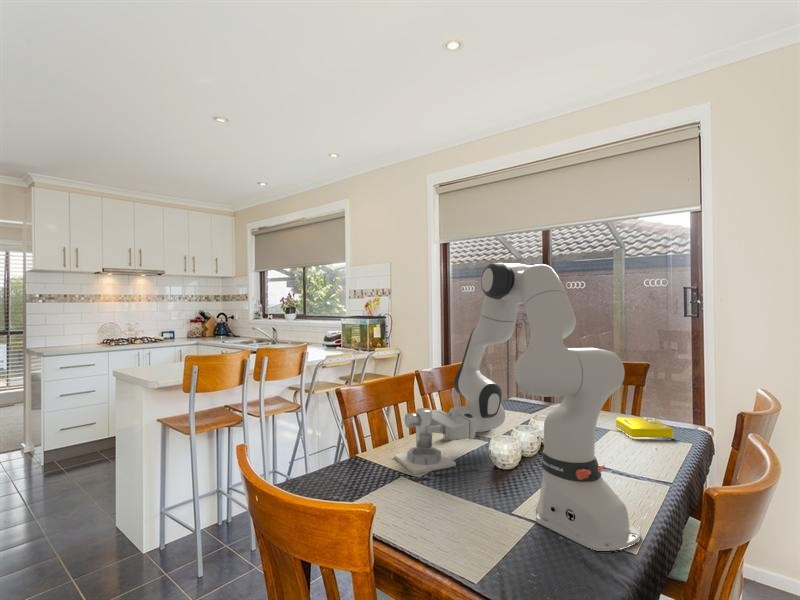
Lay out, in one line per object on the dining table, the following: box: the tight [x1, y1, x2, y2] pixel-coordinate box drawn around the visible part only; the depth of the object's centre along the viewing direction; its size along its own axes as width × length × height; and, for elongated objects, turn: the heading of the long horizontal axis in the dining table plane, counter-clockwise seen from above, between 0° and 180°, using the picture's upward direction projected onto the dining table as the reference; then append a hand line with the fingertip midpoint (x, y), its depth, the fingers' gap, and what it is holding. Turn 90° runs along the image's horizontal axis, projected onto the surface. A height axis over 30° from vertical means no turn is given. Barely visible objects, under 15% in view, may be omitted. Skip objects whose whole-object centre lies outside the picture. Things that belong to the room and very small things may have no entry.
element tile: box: [615, 417, 674, 438], centre depth 162 cm, size 15×15×5 cm
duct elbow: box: [404, 407, 433, 449], centre depth 134 cm, size 5×8×11 cm, turn 115°
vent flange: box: [393, 446, 457, 475], centre depth 134 cm, size 14×14×3 cm
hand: (421, 426), depth 134 cm, fingers closed on duct elbow, 5 cm apart
